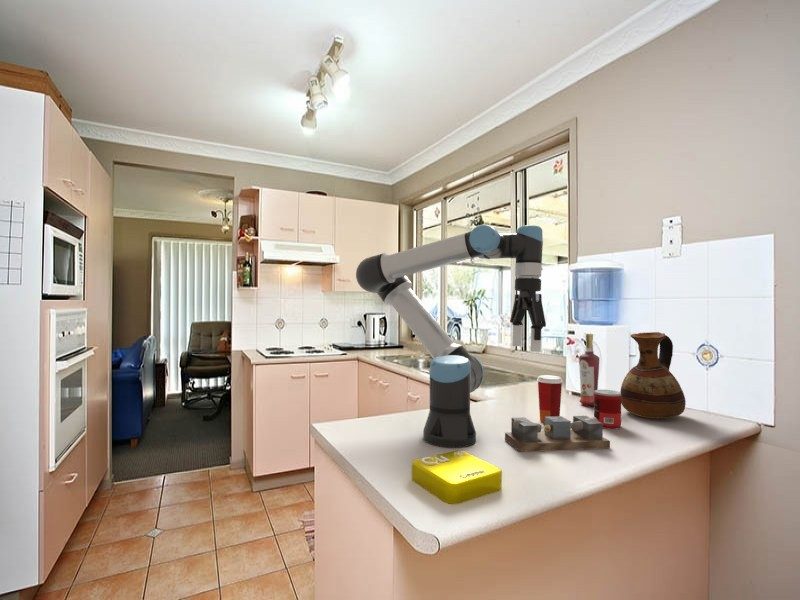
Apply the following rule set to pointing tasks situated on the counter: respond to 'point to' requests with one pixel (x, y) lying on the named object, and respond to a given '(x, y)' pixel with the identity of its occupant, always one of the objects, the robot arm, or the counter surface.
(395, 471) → the counter surface
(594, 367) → the liquor
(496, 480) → the element tile
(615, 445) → the counter surface
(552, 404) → the coffee cup
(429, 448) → the counter surface
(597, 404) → the canned food
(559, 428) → the coupler
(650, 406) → the ceramic pitcher
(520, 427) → the shaft stand
